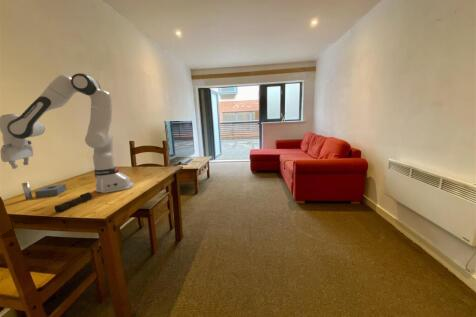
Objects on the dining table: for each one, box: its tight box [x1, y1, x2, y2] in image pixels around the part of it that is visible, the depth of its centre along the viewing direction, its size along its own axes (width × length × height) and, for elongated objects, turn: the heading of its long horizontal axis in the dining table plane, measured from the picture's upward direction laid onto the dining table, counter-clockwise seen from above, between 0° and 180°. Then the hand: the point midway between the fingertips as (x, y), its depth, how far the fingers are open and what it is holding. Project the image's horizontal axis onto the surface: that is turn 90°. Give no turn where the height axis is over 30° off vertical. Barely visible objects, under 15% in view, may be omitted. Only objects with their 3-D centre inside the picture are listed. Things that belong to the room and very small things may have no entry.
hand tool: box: [54, 191, 93, 213], centre depth 111 cm, size 19×4×5 cm, turn 164°
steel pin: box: [21, 181, 33, 201], centre depth 123 cm, size 3×3×10 cm
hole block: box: [34, 183, 67, 199], centre depth 131 cm, size 11×11×4 cm
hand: (20, 166), depth 120 cm, fingers open, 8 cm apart
